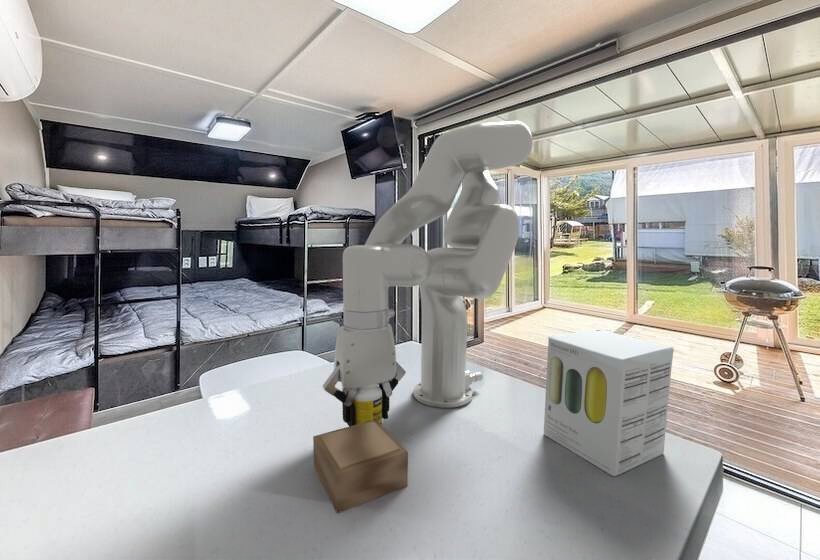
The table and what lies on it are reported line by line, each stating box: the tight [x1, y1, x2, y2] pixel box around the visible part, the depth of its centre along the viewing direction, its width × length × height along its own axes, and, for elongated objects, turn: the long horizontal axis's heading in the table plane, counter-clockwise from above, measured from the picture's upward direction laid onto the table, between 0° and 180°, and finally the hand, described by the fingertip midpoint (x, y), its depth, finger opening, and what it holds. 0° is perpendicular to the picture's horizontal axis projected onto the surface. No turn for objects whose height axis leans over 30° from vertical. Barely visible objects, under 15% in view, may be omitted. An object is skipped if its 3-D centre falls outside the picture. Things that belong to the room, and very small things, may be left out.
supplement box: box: [543, 328, 675, 477], centre depth 59 cm, size 13×13×18 cm
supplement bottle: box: [353, 384, 383, 426], centre depth 63 cm, size 5×5×10 cm
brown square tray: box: [312, 419, 409, 514], centre depth 51 cm, size 10×10×5 cm
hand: (366, 419), depth 64 cm, fingers closed on supplement bottle, 5 cm apart
